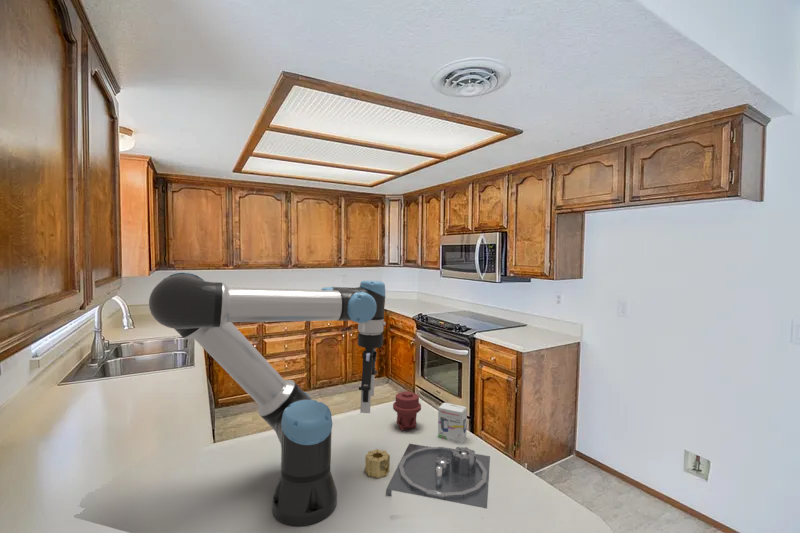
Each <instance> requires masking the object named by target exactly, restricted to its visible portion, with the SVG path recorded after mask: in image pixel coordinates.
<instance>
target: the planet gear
mask: <svg viewBox="0 0 800 533" xmlns="http://www.w3.org/2000/svg"><path fill="white" fill-rule="evenodd" d="M390 458H391V455H390V453H388V452H387V451H386V450H385V449H384V450H381V449H377V448H376V449H374V450H369V451H367V454H365V459H364V460H365V463H364V465H365V466H364V467H365V468H364V472H365V473H366V474H367V476H368V477H369V478H371V477H372V478H376V479H380V478H382V477H387V476H388V473H389V472H390V466H391V464H390V461H391V459H390Z"/></svg>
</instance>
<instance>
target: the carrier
mask: <svg viewBox="0 0 800 533" xmlns="http://www.w3.org/2000/svg"><path fill="white" fill-rule="evenodd" d="M454 449H455V448H449V447H444V446H426V445H422V444H421V445H420V444H414V443H408V445H407V448H405V450H404V451H405V452H404V453H403V455H402V457H401V458H400V461H399V463H398V465H397V467H396V469H395V471H394V473H393V475H392V477H391V479H390V481H389V482H388V485H387V487H386V490H385V496H390V497H392V491H394V492H400V493H404V494H410V495H414V496H418V497H419V496H420V497H423V498H424V497H425V498H430V499H434V500H440V501H445V502H451V503H456V504H457V503H458V504H463V505H467V506H471V507H478V508H483V509H488V500H489V499H488V496H489V479H490V478H489V477H490V467H491V466H490V462H491V456H489V455H485V454H479V453H478V454H477V453H475V455H476V472H473V473H472V474H471V475H459V473H457V472H455V471H453V470H452V467H451V460H452V450H454ZM461 455H467V453H466V452H464V451H463V452H461Z"/></svg>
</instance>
